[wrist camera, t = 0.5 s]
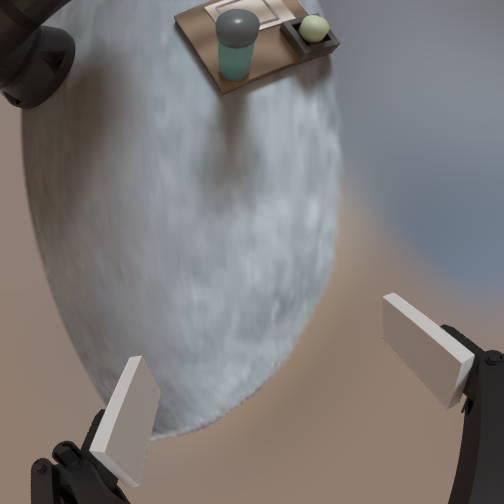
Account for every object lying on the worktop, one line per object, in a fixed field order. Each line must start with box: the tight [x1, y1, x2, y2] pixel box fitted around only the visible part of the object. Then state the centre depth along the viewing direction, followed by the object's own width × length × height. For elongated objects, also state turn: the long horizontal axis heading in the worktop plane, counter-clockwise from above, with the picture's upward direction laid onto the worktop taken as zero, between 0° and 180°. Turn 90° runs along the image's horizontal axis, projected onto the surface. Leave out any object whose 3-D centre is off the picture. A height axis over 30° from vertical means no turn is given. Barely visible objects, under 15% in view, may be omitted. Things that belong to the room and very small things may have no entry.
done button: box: [298, 15, 329, 44], centre depth 27 cm, size 4×4×3 cm
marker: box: [216, 9, 260, 81], centre depth 25 cm, size 4×4×12 cm
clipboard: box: [174, 0, 340, 94], centre depth 29 cm, size 16×18×4 cm
